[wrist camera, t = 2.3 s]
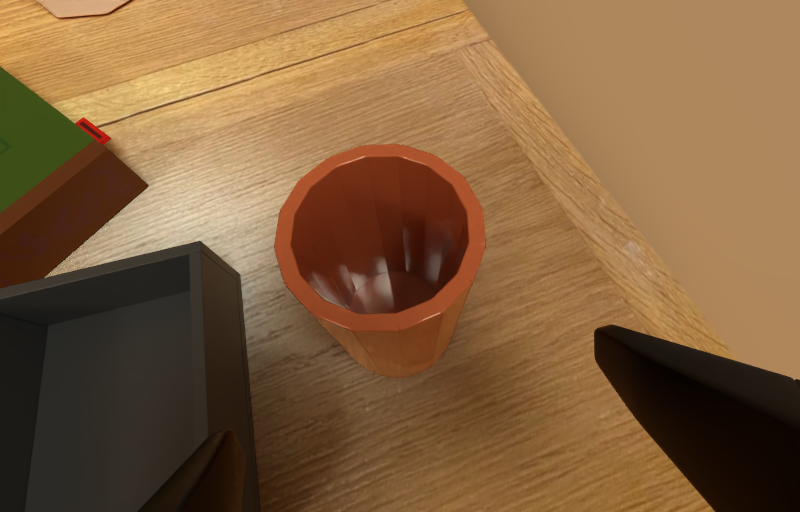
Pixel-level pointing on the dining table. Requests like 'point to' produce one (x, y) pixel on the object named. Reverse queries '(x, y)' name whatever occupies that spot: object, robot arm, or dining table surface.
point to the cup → (81, 7)
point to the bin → (120, 380)
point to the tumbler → (383, 253)
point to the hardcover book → (52, 183)
